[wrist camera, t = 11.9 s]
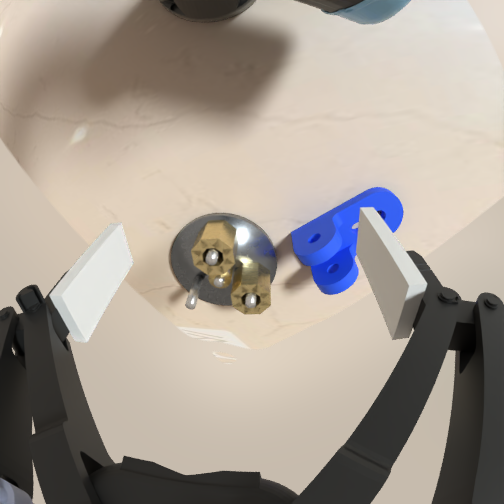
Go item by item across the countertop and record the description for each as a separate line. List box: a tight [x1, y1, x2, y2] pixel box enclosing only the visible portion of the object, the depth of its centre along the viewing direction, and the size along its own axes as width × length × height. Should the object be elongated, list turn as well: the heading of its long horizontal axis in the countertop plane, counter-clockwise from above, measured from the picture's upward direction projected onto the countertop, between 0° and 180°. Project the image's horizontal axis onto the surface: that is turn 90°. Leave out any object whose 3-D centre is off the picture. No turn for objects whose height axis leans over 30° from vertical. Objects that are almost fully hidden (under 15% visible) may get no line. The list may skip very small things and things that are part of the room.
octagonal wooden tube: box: [191, 220, 238, 275], centre depth 45 cm, size 6×6×6 cm
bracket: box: [291, 187, 403, 295], centre depth 43 cm, size 18×8×9 cm, turn 124°
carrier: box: [171, 213, 277, 314], centre depth 48 cm, size 18×18×8 cm
